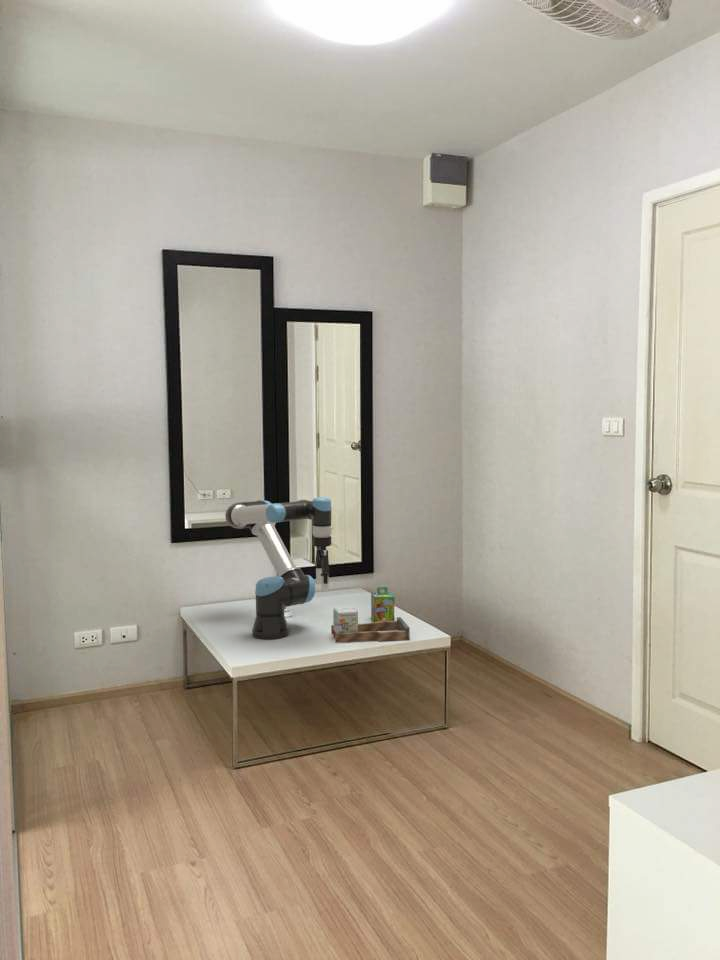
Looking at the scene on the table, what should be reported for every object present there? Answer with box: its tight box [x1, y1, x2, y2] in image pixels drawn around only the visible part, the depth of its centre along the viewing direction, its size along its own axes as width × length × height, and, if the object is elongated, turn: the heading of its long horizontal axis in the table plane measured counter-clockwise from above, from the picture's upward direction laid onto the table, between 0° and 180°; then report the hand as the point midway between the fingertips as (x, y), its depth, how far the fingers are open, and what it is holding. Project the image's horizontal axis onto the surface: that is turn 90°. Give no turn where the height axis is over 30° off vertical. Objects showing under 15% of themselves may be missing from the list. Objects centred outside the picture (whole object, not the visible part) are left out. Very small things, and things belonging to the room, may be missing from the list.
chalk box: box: [370, 586, 395, 622], centre depth 359 cm, size 9×9×15 cm
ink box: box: [332, 606, 359, 638], centre depth 333 cm, size 9×9×12 cm
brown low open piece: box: [330, 616, 411, 644], centre depth 335 cm, size 30×17×5 cm, turn 100°
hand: (322, 587), depth 332 cm, fingers open, 13 cm apart
